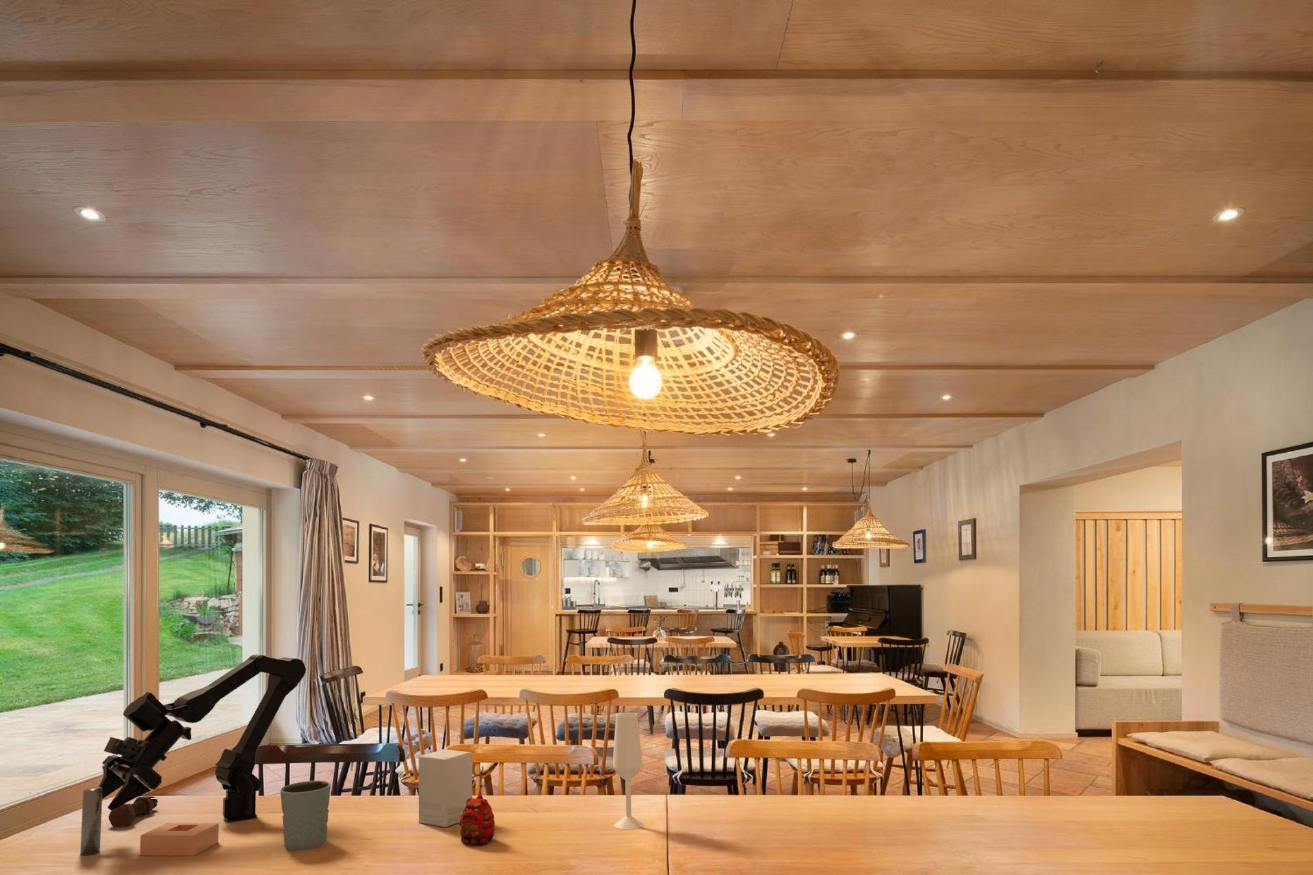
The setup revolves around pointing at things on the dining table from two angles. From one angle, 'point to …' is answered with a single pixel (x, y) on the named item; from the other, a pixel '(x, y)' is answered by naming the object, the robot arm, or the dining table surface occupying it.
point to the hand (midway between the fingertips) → (100, 805)
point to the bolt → (132, 811)
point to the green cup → (305, 814)
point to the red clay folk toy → (477, 819)
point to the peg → (91, 821)
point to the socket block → (179, 839)
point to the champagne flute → (627, 760)
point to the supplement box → (444, 786)
